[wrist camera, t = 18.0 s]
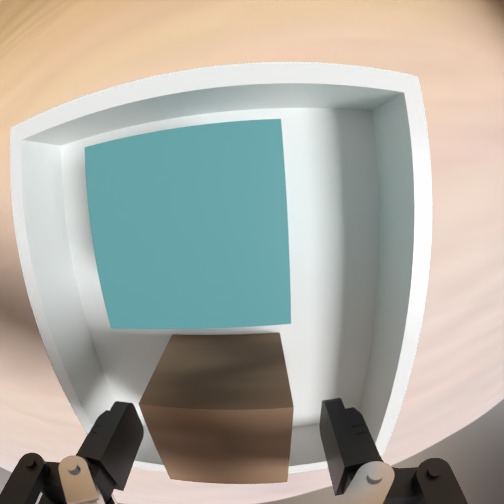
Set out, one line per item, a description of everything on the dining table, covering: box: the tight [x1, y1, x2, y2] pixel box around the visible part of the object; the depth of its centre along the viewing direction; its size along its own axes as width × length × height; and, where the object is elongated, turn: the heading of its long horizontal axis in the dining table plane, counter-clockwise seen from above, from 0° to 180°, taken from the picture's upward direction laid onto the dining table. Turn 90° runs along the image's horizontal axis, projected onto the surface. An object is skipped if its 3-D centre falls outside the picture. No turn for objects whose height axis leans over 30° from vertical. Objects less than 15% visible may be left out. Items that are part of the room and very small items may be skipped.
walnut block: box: [139, 333, 294, 484], centre depth 11 cm, size 5×5×5 cm
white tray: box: [10, 62, 432, 473], centre depth 11 cm, size 16×18×4 cm
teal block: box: [85, 119, 291, 329], centre depth 9 cm, size 5×5×5 cm
